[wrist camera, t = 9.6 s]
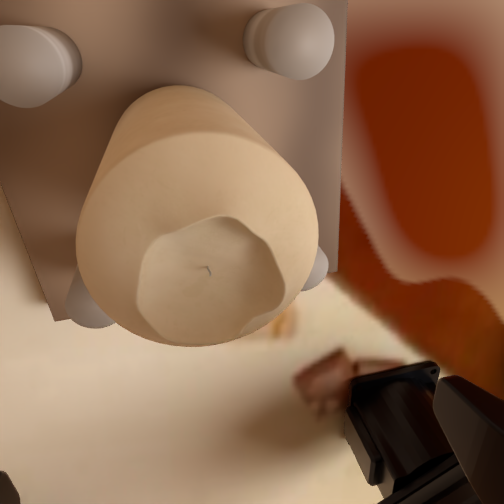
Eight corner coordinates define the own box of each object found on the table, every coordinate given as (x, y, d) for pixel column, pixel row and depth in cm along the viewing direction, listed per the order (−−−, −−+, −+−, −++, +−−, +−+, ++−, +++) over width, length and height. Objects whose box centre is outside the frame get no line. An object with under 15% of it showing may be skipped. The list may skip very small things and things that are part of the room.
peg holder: (334, -59, 16) (412, -98, 11) (326, 257, 22) (372, 318, 18) (-66, -38, 13) (-185, -76, 9) (61, 303, 20) (32, 385, 16)
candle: (128, 61, 15) (92, 102, 6) (267, 111, 16) (390, 198, 8) (99, 199, 17) (41, 376, 8) (224, 230, 19) (285, 400, 10)
